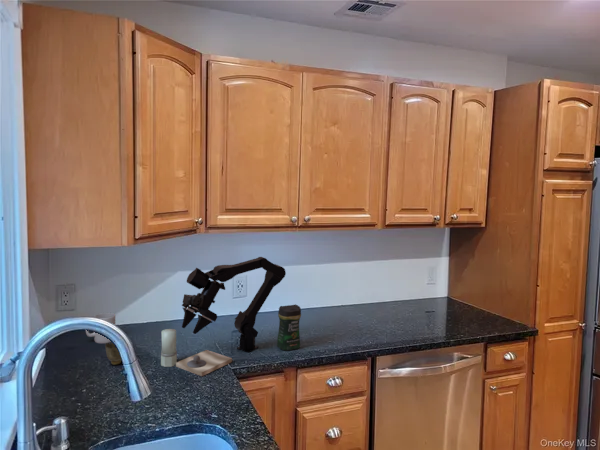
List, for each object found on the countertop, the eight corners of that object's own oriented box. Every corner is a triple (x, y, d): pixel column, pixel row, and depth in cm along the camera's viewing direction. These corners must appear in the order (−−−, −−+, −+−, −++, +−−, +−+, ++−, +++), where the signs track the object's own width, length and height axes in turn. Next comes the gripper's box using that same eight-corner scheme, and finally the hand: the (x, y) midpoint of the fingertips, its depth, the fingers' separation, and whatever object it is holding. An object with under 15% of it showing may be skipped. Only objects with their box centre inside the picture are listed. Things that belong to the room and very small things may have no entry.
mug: (112, 335, 199) (112, 311, 198) (118, 340, 193) (117, 316, 192) (83, 340, 192) (83, 316, 191) (88, 346, 185) (88, 321, 184)
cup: (120, 358, 175) (120, 338, 174) (130, 363, 170) (130, 343, 169) (101, 363, 169) (101, 343, 168) (111, 369, 165) (111, 348, 164)
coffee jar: (282, 352, 185) (283, 309, 183) (274, 346, 192) (275, 304, 190) (303, 348, 190) (304, 306, 188) (294, 342, 196) (295, 301, 194)
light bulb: (169, 359, 175) (169, 327, 173) (179, 363, 172) (179, 330, 170) (157, 364, 170) (157, 331, 169) (167, 368, 167) (167, 334, 165)
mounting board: (206, 353, 182) (206, 342, 181) (231, 361, 174) (232, 350, 174) (175, 366, 169) (175, 354, 168) (201, 376, 161) (201, 363, 160)
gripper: (182, 281, 178) (161, 316, 174) (204, 289, 164) (183, 328, 160) (202, 293, 185) (183, 328, 180) (226, 302, 171) (206, 340, 166)
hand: (188, 330), depth 171 cm, fingers open, 9 cm apart
